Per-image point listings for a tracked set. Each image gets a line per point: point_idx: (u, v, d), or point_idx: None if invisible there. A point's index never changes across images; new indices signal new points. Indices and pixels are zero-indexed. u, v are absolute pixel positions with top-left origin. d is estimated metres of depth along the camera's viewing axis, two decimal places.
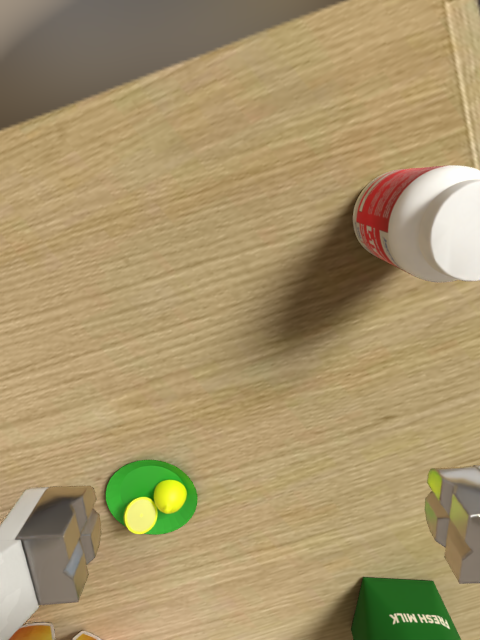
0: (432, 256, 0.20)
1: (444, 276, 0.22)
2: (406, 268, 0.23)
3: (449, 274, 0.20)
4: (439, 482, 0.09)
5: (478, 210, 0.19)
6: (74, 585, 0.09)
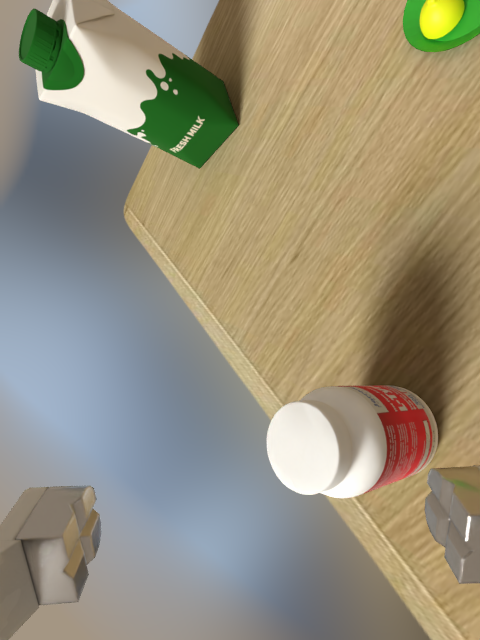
0: (321, 410, 0.21)
1: (309, 398, 0.24)
2: (342, 389, 0.23)
3: (301, 402, 0.22)
4: (439, 482, 0.09)
5: (311, 464, 0.21)
6: (74, 585, 0.09)
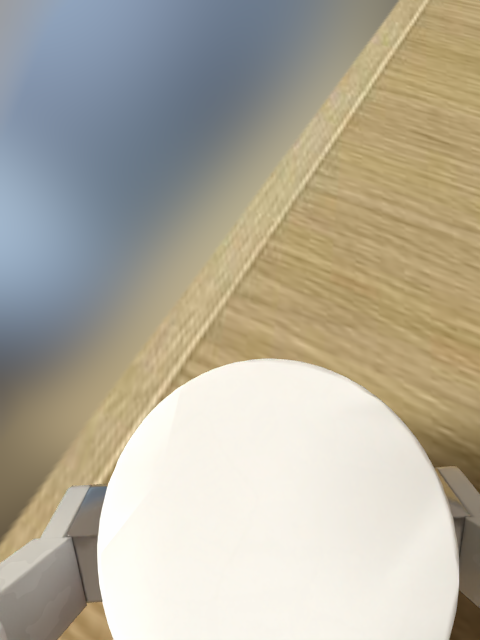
0: (456, 602, 0.05)
1: None
2: None
3: (441, 490, 0.06)
4: None
5: (229, 601, 0.05)
6: None
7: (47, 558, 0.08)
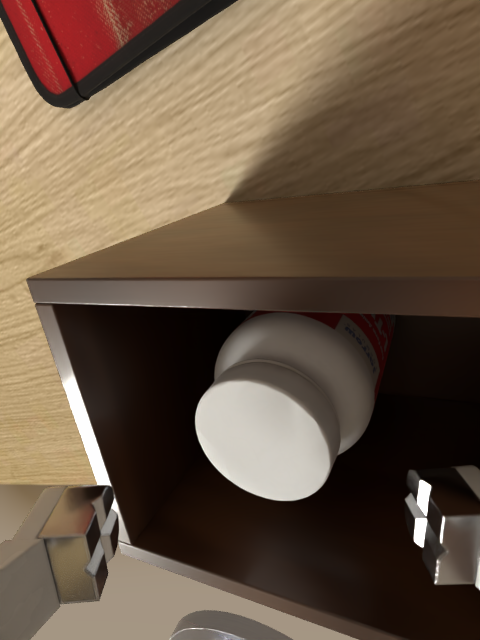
0: (321, 426, 0.12)
1: (282, 340, 0.14)
2: (341, 346, 0.14)
3: (288, 397, 0.12)
4: (416, 483, 0.09)
5: (268, 470, 0.13)
6: (95, 584, 0.09)
7: (17, 560, 0.08)
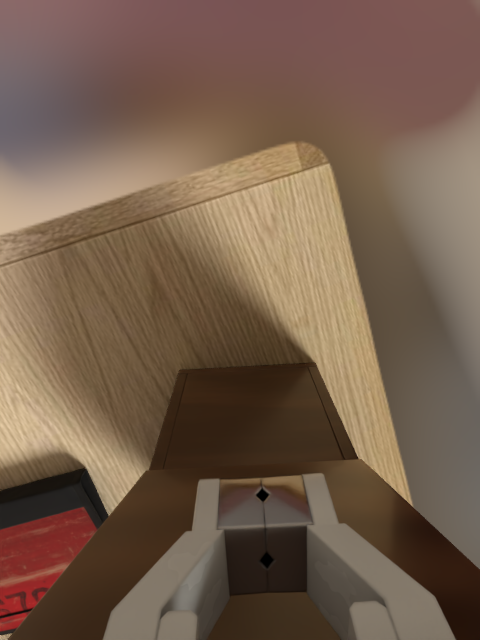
0: None
1: None
2: None
3: None
4: (262, 491, 0.09)
5: None
6: (267, 575, 0.09)
7: (208, 551, 0.08)
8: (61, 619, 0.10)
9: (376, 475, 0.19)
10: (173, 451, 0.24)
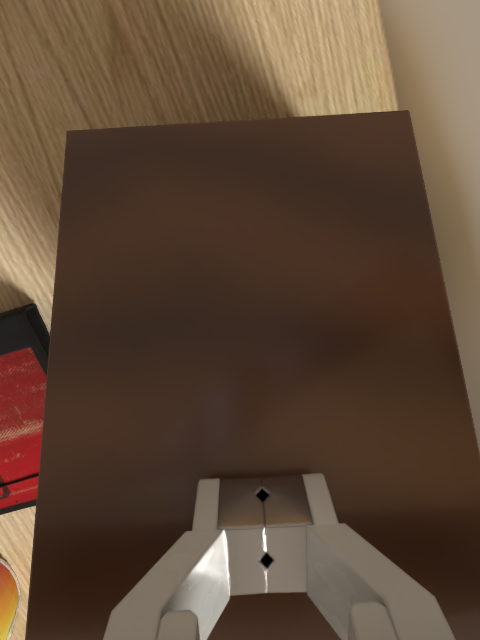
0: None
1: None
2: None
3: None
4: (261, 491, 0.09)
5: None
6: (267, 575, 0.09)
7: (209, 550, 0.08)
8: (70, 537, 0.10)
9: (420, 185, 0.13)
10: None
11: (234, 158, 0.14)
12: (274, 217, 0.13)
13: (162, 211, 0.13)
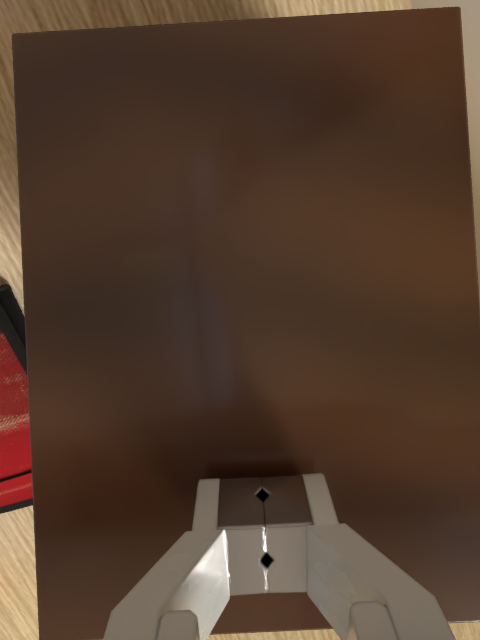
0: None
1: None
2: None
3: None
4: (262, 491, 0.09)
5: None
6: (267, 576, 0.09)
7: (208, 551, 0.08)
8: (70, 517, 0.10)
9: (463, 119, 0.11)
10: None
11: (231, 78, 0.11)
12: (280, 162, 0.11)
13: (143, 153, 0.11)
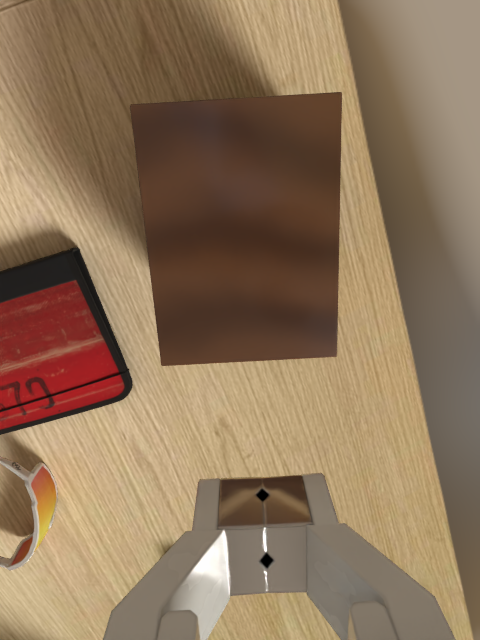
0: None
1: None
2: None
3: None
4: (261, 491, 0.09)
5: None
6: (267, 576, 0.09)
7: (209, 550, 0.08)
8: (171, 320, 0.26)
9: (338, 150, 0.23)
10: None
11: (234, 129, 0.23)
12: (256, 170, 0.24)
13: (194, 165, 0.24)
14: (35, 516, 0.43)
